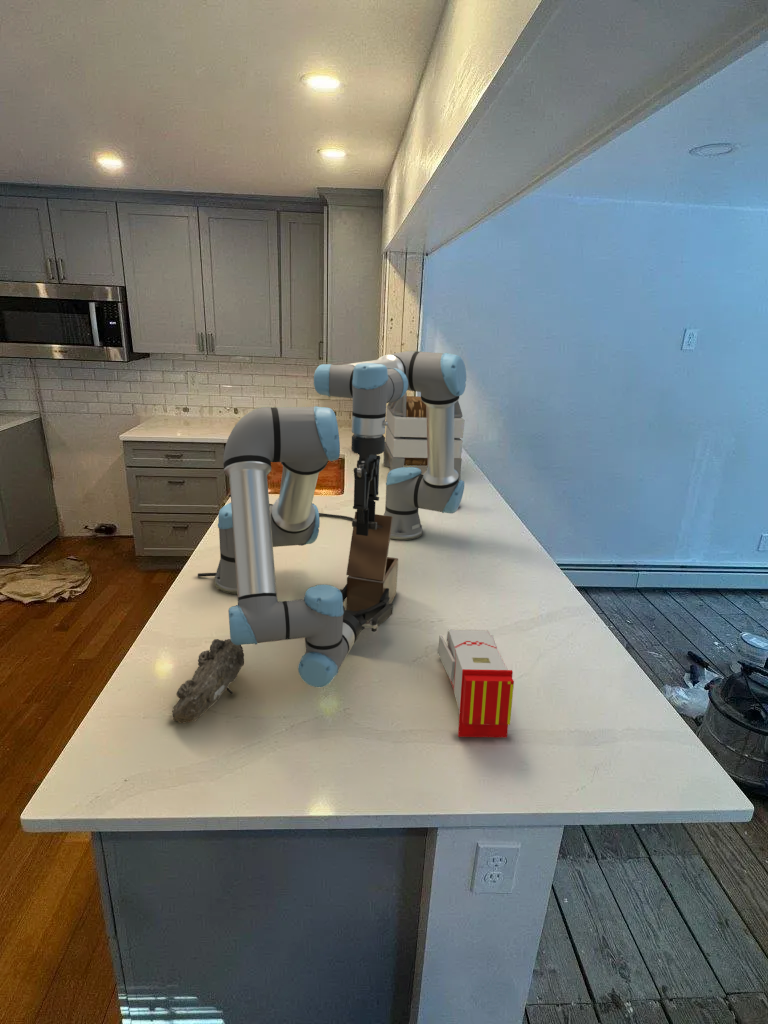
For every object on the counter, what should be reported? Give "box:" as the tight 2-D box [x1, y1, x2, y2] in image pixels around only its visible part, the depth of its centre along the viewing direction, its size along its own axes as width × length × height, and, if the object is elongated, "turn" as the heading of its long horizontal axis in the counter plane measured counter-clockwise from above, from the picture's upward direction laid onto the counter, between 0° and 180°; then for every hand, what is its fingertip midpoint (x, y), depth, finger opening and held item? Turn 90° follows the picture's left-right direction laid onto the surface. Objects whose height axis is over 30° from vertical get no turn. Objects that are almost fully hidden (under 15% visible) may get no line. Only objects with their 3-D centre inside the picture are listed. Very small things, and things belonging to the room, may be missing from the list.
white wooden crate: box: [383, 392, 465, 480], centre depth 268 cm, size 34×33×41 cm
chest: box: [345, 556, 399, 611], centre depth 150 cm, size 16×10×11 cm, turn 165°
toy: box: [437, 628, 515, 738], centre depth 117 cm, size 12×13×30 cm
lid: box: [346, 511, 393, 581], centre depth 137 cm, size 16×10×9 cm
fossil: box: [171, 638, 245, 724], centre depth 113 cm, size 22×10×15 cm
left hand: (368, 589), depth 146 cm, fingers closed on chest, 9 cm apart
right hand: (365, 530), depth 136 cm, fingers open, 5 cm apart
